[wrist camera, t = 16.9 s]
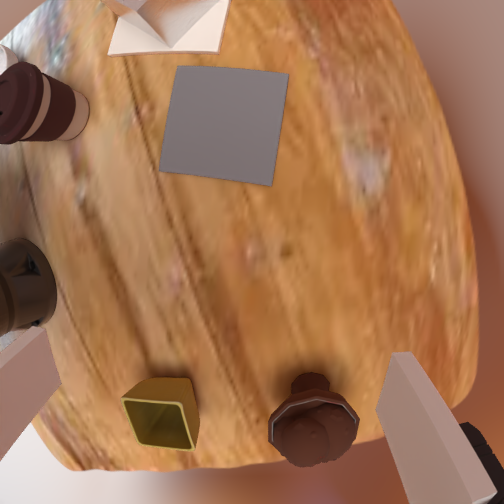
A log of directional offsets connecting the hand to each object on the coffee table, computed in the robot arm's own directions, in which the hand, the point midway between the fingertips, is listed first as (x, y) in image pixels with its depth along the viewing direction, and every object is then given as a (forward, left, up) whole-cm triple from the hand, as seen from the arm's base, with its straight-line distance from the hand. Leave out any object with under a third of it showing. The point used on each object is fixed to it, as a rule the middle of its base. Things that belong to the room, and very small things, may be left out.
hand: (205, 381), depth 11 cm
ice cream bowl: (+10, -19, -29) cm, 36 cm away
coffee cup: (-30, +14, -29) cm, 44 cm away
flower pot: (-9, -24, -29) cm, 39 cm away
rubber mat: (-7, +14, -29) cm, 33 cm away
